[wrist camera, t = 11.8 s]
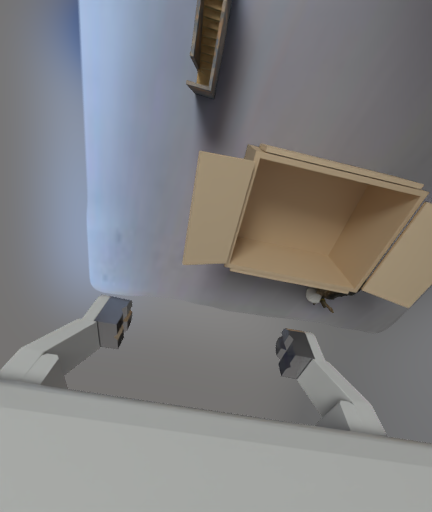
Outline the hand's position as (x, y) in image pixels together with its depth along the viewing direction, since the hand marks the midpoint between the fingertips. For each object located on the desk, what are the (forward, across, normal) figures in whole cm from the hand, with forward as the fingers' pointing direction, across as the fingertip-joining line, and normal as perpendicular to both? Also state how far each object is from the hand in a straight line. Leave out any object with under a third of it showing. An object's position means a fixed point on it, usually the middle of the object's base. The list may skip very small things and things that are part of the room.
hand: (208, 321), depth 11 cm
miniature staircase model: (+28, +5, -17) cm, 33 cm away
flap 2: (+17, -22, 0) cm, 28 cm away
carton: (+27, -12, 0) cm, 30 cm away
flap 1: (+17, -2, 0) cm, 17 cm away
